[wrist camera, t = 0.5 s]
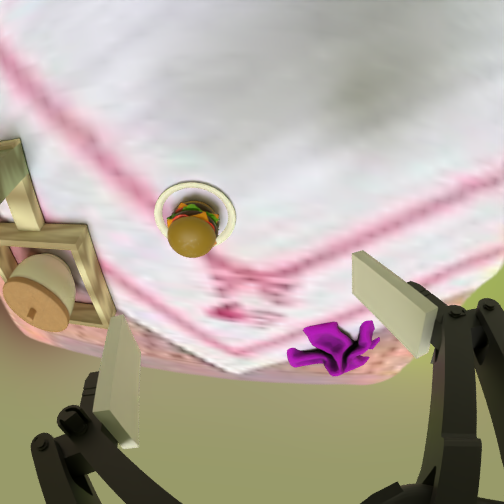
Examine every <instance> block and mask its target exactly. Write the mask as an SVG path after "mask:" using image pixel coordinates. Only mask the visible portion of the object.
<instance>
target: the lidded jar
mask: <svg viewBox="0 0 504 504" xmlns="http://www.w3.org/2000/svg"><path fill="white" fill-rule="evenodd" d="M75 295H76V289H75V283H74V279H73V277H72V275H71V270H70V268H69V267H68V265H67V264H66V263H65V262H64V261H63V260H62V259H61V258H59V257H58V256H56V255H53V254H50V253H42V254H37V255H32V256H30V257H28V258H26V259H24V260H23V261H22V262H21V263H20V264H19V265H18V266H17V267H16V268H15V270H14V271H13V272H12V274H11V275H10V277H9V279H8V280H7V281H6V283H5V284H4V287H3V296H4V298H5V300H6V302H7V304H8V305H9V307H10V308H11V309H12V310H13V311H14V312H15V313H16V314H17V315H18V316H19V317H20V318H22V319H23V320H24V321H26V322H27V323H29V324H31V325H33V326H35V327H37V328H39V329H42V330H45V331H50V332H60V331H63V330H65V329H66V328H67V326H68V324H69V320H70V316H71V313H72V310H73V307H74V302H75Z"/></svg>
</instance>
